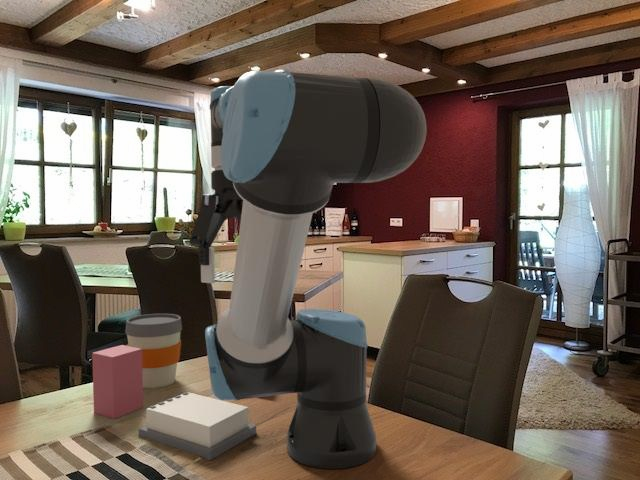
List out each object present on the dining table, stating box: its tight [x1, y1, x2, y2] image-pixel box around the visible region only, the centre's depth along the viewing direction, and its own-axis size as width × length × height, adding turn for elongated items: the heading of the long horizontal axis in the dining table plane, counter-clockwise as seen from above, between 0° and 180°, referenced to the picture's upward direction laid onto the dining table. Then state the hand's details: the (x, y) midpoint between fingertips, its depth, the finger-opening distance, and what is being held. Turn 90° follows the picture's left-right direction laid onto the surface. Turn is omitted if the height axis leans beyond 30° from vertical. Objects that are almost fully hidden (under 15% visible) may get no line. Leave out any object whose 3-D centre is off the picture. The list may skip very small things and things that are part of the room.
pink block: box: [91, 344, 144, 420], centre depth 107 cm, size 6×7×12 cm
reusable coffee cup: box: [124, 313, 183, 389], centre depth 125 cm, size 13×13×15 cm
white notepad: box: [138, 391, 257, 461], centre depth 96 cm, size 17×12×5 cm
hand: (231, 278), depth 106 cm, fingers open, 13 cm apart
